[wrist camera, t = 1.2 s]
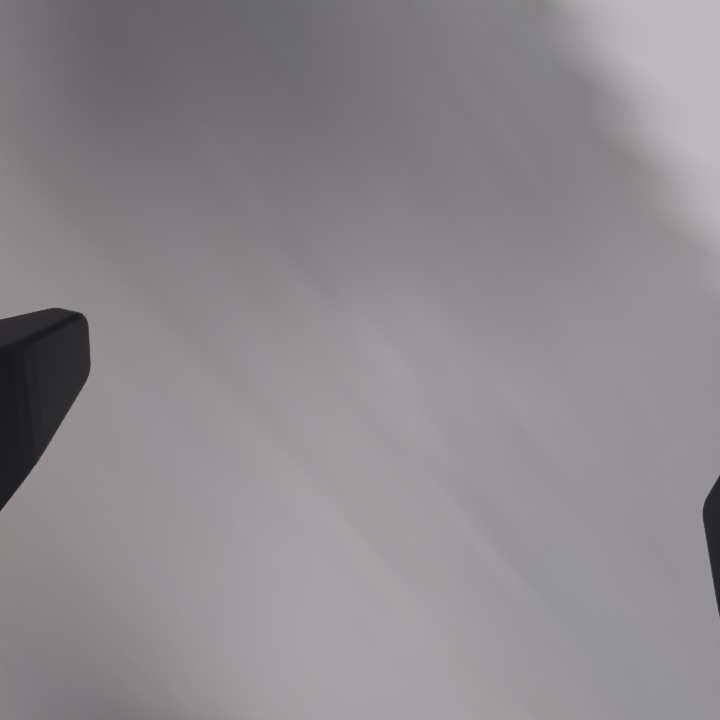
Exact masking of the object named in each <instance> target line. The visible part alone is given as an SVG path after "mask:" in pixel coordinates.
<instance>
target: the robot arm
mask: <svg viewBox="0 0 720 720" xmlns="http://www.w3.org/2000/svg"><path fill="white" fill-rule="evenodd" d="M90 364H91V362H90V345H89V327H88V321H87V319H86V317H85V316H84V315H83V314H82V313H79V312H75V311H71V310H66V309H61V308H50V309H46V310H41V311H37V312H32V313H28V314H24V315H19V316H15V317H10V318H6V319H1V320H0V511H1V510H2V509H3V507H4V506H5V505H6V503H7V502H8V501H9V499H10V498H11V497H12V496H13V494H14V493H15V492H16V490H17V489H18V488H19V486H20V485H21V484H22V483H23V481H24V480H25V479H26V477H27V476H28V475H29V473H30V472H31V470H32V469H33V468H34V466H35V465H36V464H37V462H38V461H39V459H40V457H41V456H42V454H43V453H44V451H45V450H46V448H47V446H48V445H49V443H50V441H51V440H52V438H53V436H54V435H55V433H56V431H57V430H58V428H59V426H60V425H61V423H62V421H63V420H64V418H65V416H66V415H67V413H68V411H69V409H70V408H71V406H72V404H73V403H74V401H75V399H76V398H77V396H78V394H79V393H80V391H81V389H82V388H83V386H84V384H85V383H86V381H87V378H88V376H89V372H90ZM703 522H704V528H705V534H706V540H707V546H708V552H709V558H710V565H711V571H712V577H713V583H714V589H715V595H716V601H717V606H718V611H719V616H720V476H719V477H718V479H717V481H716V482H715V484H714V486H713V488H712V489H711V491H710V493H709V495H708V496H707V498H706V500H705V503H704V507H703Z"/></svg>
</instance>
